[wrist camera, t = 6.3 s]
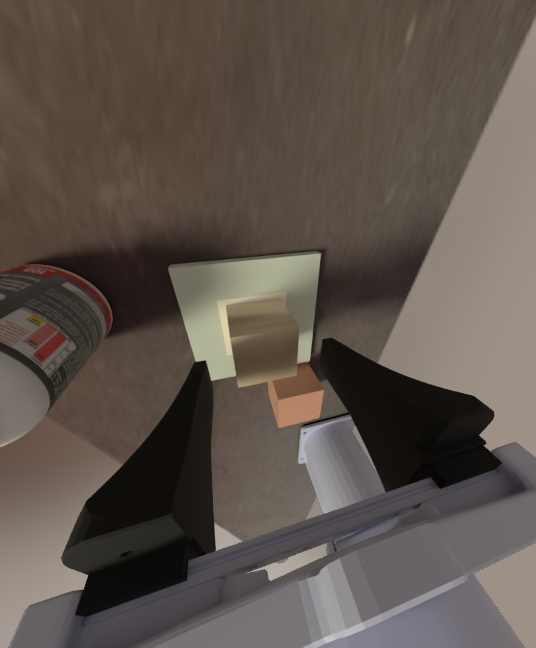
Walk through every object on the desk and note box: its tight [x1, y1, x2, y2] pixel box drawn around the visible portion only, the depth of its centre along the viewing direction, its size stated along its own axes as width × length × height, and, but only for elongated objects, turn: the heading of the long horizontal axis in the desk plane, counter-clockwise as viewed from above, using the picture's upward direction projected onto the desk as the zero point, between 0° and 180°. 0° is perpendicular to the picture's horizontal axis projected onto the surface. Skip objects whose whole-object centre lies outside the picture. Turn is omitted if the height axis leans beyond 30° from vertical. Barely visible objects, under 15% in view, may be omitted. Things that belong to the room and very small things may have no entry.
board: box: [168, 251, 321, 381], centre depth 16 cm, size 10×10×1 cm
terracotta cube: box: [268, 362, 324, 428], centre depth 19 cm, size 4×4×4 cm
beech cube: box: [226, 298, 299, 388], centre depth 14 cm, size 4×4×4 cm
